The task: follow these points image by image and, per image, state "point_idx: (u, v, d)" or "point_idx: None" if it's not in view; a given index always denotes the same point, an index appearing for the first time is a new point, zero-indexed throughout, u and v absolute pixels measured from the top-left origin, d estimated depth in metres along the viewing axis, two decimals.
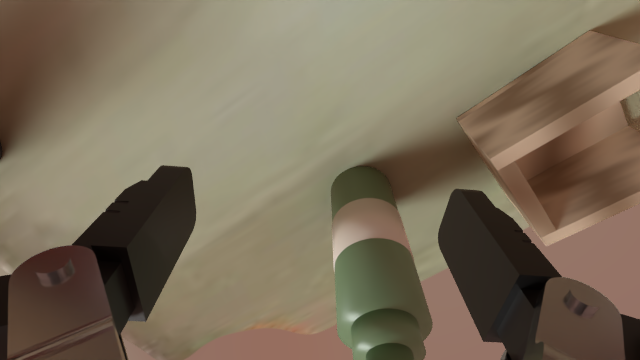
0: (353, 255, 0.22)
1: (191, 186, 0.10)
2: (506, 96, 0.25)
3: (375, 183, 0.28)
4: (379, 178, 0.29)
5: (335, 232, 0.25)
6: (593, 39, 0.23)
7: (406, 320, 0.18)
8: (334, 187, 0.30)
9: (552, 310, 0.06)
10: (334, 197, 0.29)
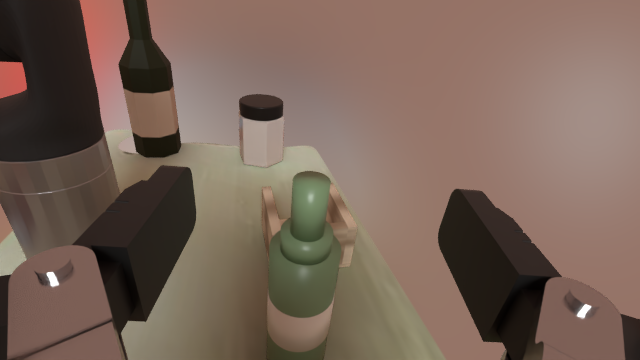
0: (268, 283, 0.27)
1: (191, 186, 0.10)
2: (267, 248, 0.43)
3: None
4: None
5: (274, 327, 0.28)
6: (262, 219, 0.49)
7: None
8: None
9: (552, 310, 0.06)
10: (272, 357, 0.30)
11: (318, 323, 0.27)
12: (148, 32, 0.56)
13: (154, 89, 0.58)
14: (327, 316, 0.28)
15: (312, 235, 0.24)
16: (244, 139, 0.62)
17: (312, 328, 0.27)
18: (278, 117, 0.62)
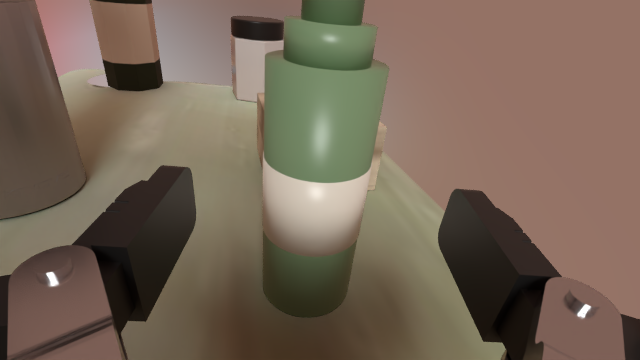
0: (264, 136, 0.16)
1: (191, 186, 0.10)
2: None
3: None
4: None
5: (273, 213, 0.17)
6: (257, 140, 0.38)
7: None
8: (270, 290, 0.20)
9: (552, 310, 0.06)
10: (271, 274, 0.19)
11: (347, 200, 0.16)
12: None
13: None
14: (361, 194, 0.17)
15: (343, 8, 0.13)
16: (237, 66, 0.52)
17: (337, 208, 0.16)
18: (278, 38, 0.51)
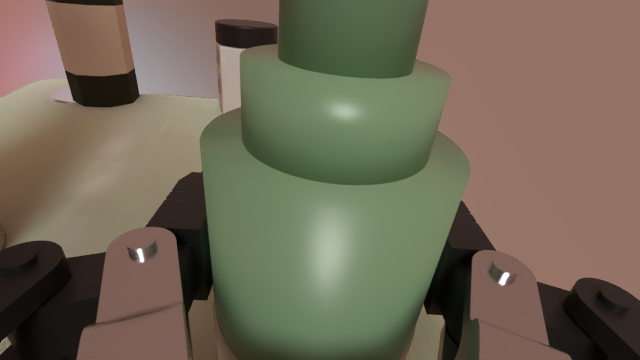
0: None
1: None
2: None
3: None
4: None
5: None
6: None
7: None
8: None
9: (481, 284, 0.06)
10: None
11: None
12: None
13: None
14: None
15: (379, 39, 0.05)
16: (223, 78, 0.44)
17: None
18: None
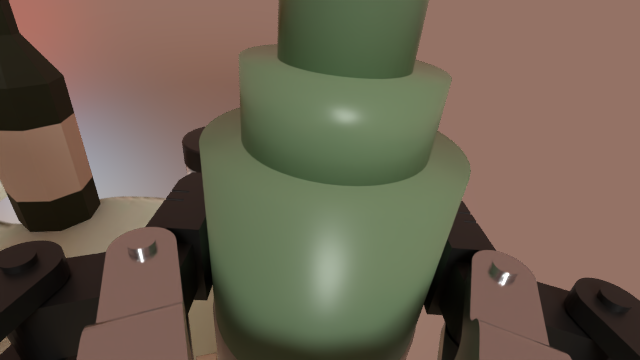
0: None
1: None
2: None
3: None
4: None
5: None
6: None
7: None
8: None
9: (481, 284, 0.06)
10: None
11: None
12: (5, 21, 0.31)
13: (26, 124, 0.33)
14: None
15: (379, 39, 0.05)
16: None
17: None
18: None
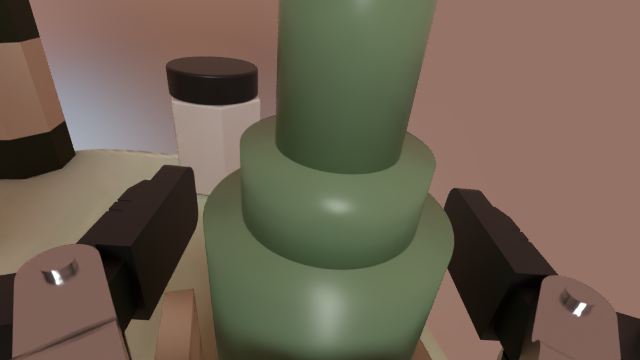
0: None
1: (193, 186, 0.10)
2: None
3: None
4: None
5: None
6: None
7: None
8: None
9: (548, 308, 0.06)
10: None
11: None
12: None
13: None
14: None
15: (367, 143, 0.06)
16: (179, 143, 0.31)
17: None
18: (247, 98, 0.30)
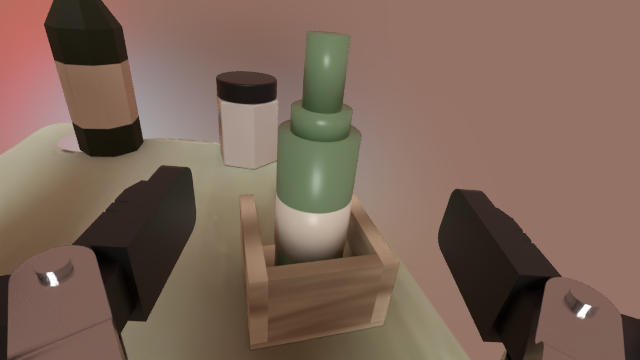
0: None
1: (191, 186, 0.10)
2: (246, 296, 0.26)
3: None
4: None
5: (283, 233, 0.24)
6: (241, 246, 0.31)
7: None
8: None
9: (552, 310, 0.06)
10: None
11: (334, 224, 0.23)
12: None
13: (96, 60, 0.42)
14: (344, 219, 0.24)
15: (329, 104, 0.20)
16: (223, 130, 0.45)
17: (327, 230, 0.23)
18: (270, 99, 0.45)
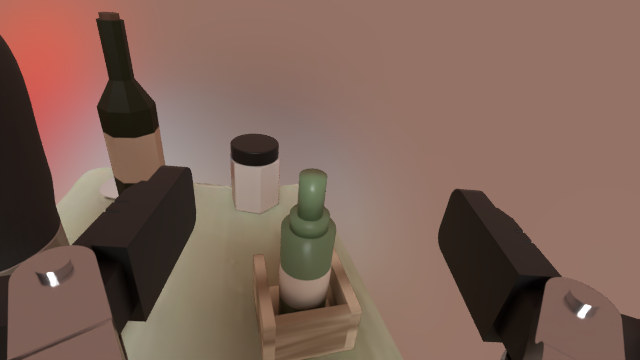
0: (280, 255, 0.35)
1: (191, 186, 0.10)
2: (259, 329, 0.38)
3: None
4: None
5: (284, 290, 0.36)
6: None
7: None
8: None
9: (552, 310, 0.06)
10: None
11: (318, 285, 0.35)
12: (129, 72, 0.51)
13: (137, 133, 0.53)
14: (325, 281, 0.36)
15: (314, 216, 0.32)
16: (236, 185, 0.57)
17: (314, 289, 0.35)
18: (273, 161, 0.56)
